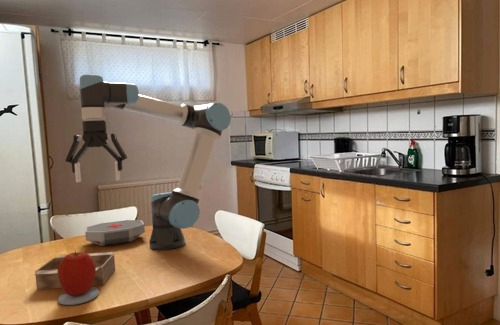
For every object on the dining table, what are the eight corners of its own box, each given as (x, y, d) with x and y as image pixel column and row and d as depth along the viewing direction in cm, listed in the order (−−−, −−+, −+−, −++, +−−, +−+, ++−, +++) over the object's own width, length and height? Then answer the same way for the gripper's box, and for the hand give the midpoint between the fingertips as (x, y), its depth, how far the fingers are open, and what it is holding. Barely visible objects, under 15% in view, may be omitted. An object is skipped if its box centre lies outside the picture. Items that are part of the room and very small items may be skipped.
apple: (62, 305, 102) (58, 257, 101) (57, 293, 110) (53, 249, 109) (101, 294, 108) (97, 249, 107) (93, 284, 116) (89, 242, 115)
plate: (103, 288, 115) (103, 285, 115) (91, 304, 104) (90, 301, 104) (67, 291, 115) (67, 288, 114) (51, 307, 104) (51, 304, 103)
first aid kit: (86, 251, 155) (146, 242, 165) (85, 234, 154) (145, 226, 164) (86, 240, 171) (141, 233, 181) (85, 225, 170) (140, 218, 180)
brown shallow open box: (117, 267, 134) (116, 251, 133) (100, 288, 116) (99, 270, 115) (58, 271, 132) (57, 255, 132) (32, 292, 114) (31, 274, 114)
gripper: (133, 119, 131) (137, 178, 132) (61, 122, 129) (66, 181, 131) (127, 118, 123) (131, 180, 125) (51, 121, 121) (56, 184, 123)
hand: (98, 181), depth 128 cm, fingers open, 13 cm apart
